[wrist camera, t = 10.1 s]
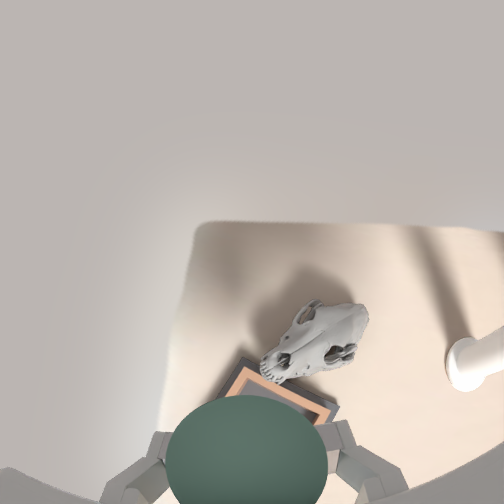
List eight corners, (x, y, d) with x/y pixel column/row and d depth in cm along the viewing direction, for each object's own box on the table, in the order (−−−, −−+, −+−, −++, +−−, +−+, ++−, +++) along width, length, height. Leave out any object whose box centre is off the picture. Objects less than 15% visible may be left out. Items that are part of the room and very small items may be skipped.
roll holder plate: (338, 406, 27) (344, 405, 24) (282, 495, 22) (283, 503, 19) (243, 358, 30) (241, 353, 28) (187, 443, 26) (179, 445, 23)
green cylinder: (317, 427, 14) (357, 436, 7) (272, 496, 12) (273, 554, 5) (241, 388, 16) (217, 366, 9) (196, 455, 13) (138, 480, 7)
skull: (389, 333, 28) (347, 375, 19) (331, 371, 33) (271, 414, 23) (349, 276, 31) (290, 289, 22) (298, 320, 36) (229, 343, 27)
